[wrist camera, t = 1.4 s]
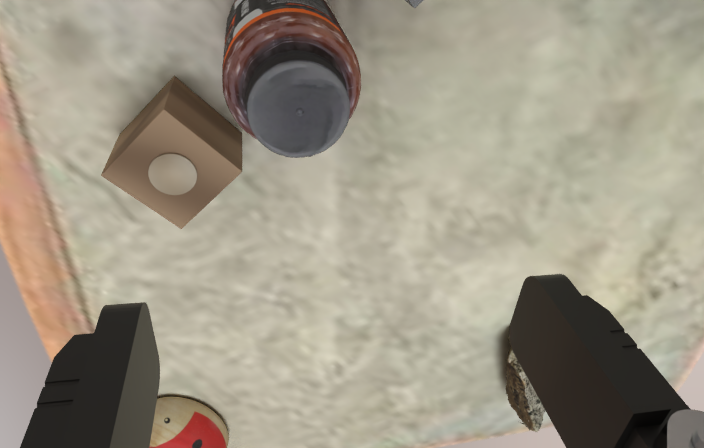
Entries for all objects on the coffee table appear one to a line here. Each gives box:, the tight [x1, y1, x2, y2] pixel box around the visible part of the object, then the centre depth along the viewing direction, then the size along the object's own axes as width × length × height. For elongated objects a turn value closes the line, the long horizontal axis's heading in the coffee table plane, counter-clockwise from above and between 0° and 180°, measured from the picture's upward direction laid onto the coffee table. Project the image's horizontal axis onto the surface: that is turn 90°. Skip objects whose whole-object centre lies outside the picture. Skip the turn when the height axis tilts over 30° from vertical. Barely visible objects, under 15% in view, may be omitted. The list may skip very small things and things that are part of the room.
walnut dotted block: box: [101, 76, 242, 229], centre depth 29 cm, size 5×5×5 cm
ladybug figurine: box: [149, 397, 229, 448], centre depth 45 cm, size 7×10×4 cm
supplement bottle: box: [222, 0, 361, 158], centre depth 24 cm, size 6×6×11 cm
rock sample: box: [506, 337, 545, 432], centre depth 47 cm, size 10×8×9 cm
